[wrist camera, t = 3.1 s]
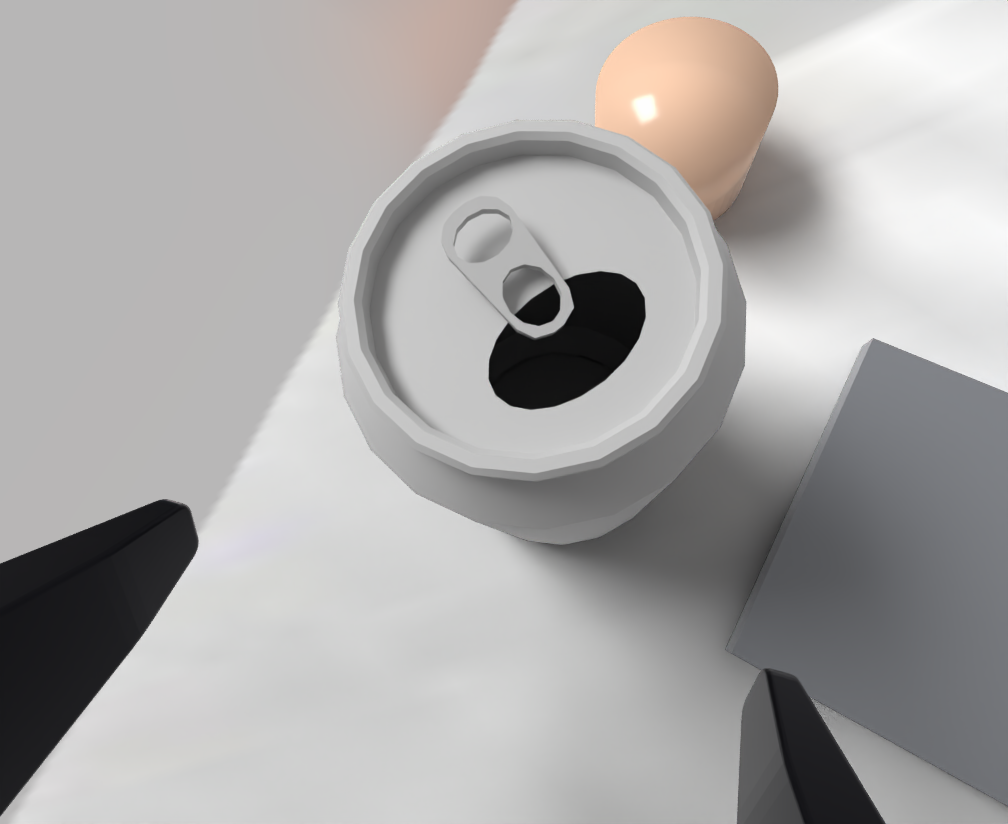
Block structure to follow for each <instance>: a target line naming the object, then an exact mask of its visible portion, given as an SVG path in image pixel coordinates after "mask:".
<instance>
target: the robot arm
mask: <svg viewBox="0 0 1008 824" xmlns="http://www.w3.org/2000/svg"><path fill="white" fill-rule="evenodd" d="M198 542H199V540H198V536H197V532H196V528H195V524H194V521H193V517H192V513H191V510H190V508H189V507H188V506H187V505H185V504H183V503H179V502H176V501H172V500H168V499H163V500H158V501H156V502H153V503H151V504H148V505H145V506H143V507H140V508H138V509H136V510H133V511H130V512H128V513H126V514H123V515H120V516H118V517H115V518H113V519H111V520H108V521H106V522H103V523H101V524H98V525H96V526H93V527H91V528H88V529H86V530H83V531H81V532H78V533H76V534H73V535H71V536H68V537H66V538H63V539H61V540H58V541H56V542H53V543H51V544H48V545H46V546H43V547H41V548H38V549H36V550H33V551H31V552H28V553H26V554H23V555H21V556H18V557H16V558H13V559H11V560H8V561H6V562H3V563H1V564H0V816H1V815H2V814H3V812H4V811H5V810H6V809H7V807H8V806H9V805H10V804H11V802H12V801H13V800H14V799H15V797H16V796H17V795H18V793H19V792H20V791H21V790H22V788H23V787H24V786H25V785H26V783H27V782H28V781H29V779H30V778H31V777H32V776H33V774H34V773H35V772H36V771H37V769H38V768H39V767H40V766H41V764H42V763H43V762H44V760H45V759H46V758H47V757H48V755H49V754H50V753H51V752H52V750H53V749H54V748H55V746H56V745H57V744H58V743H59V741H60V740H61V739H62V738H63V736H64V735H65V734H66V733H67V731H68V730H69V729H70V727H71V726H72V725H73V724H74V722H75V721H76V720H77V719H78V717H79V716H80V715H81V713H82V712H83V711H84V710H85V708H86V707H87V706H88V705H89V703H90V702H91V701H92V700H93V698H94V697H95V696H96V694H97V693H98V692H99V691H100V689H101V688H102V687H103V686H104V684H105V683H106V682H107V680H108V679H109V678H110V677H111V675H112V674H113V673H114V672H115V670H116V669H117V668H118V667H119V665H120V664H121V663H122V661H123V660H124V659H125V658H126V656H127V655H128V654H129V653H130V651H131V650H132V649H133V647H134V646H135V645H136V643H137V642H138V641H139V639H140V638H141V637H142V635H143V634H144V632H145V631H146V629H147V628H148V627H149V625H150V624H151V622H152V621H153V619H154V618H155V616H156V614H157V613H158V611H159V610H160V608H161V607H162V605H163V604H164V602H165V601H166V599H167V597H168V596H169V594H170V593H171V591H172V590H173V588H174V587H175V585H176V584H177V582H178V580H179V579H180V577H181V576H182V574H183V573H184V571H185V570H186V568H187V567H188V565H189V563H190V562H191V560H192V559H193V557H194V556H195V554H196V551H197V548H198ZM737 824H886V823H885V822H884V820H883V818H882V817H881V815H880V813H879V812H878V810H877V808H876V807H875V805H874V803H873V802H872V800H871V798H870V797H869V795H868V794H867V792H866V790H865V789H864V787H863V785H862V784H861V782H860V780H859V779H858V777H857V775H856V774H855V772H854V770H853V769H852V767H851V765H850V764H849V762H848V760H847V759H846V757H845V755H844V754H843V752H842V750H841V749H840V747H839V745H838V744H837V742H836V740H835V739H834V737H833V735H832V734H831V732H830V730H829V729H828V727H827V725H826V724H825V722H824V720H823V719H822V717H821V715H820V714H819V712H818V710H817V709H816V707H815V706H814V704H813V702H812V701H811V699H810V697H809V696H808V694H807V692H806V691H805V689H804V687H803V686H802V684H801V682H800V681H799V680H798V679H797V678H796V677H795V676H794V675H792V674H789V673H786V672H782V671H779V670H775V669H771V668H764V669H763V670H762V671H761V672H760V673H759V675H758V677H757V679H756V681H755V683H754V685H753V687H752V688H751V690H750V692H749V694H748V696H747V698H746V700H745V703H744V706H743V711H742V720H741V743H740V766H739V789H738V812H737Z"/></svg>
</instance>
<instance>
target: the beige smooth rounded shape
mask: <svg viewBox="0 0 1008 824" xmlns="http://www.w3.org/2000/svg"><path fill="white" fill-rule="evenodd" d="M777 98H778V80H777V74H776V71H775V67H774V65H773V63H772V61H771V59H770V57H769V55H768V54H767V52H766V51H765V49H764V48H763V47H762V46H761V45H760V44H759V43H758V42H757V41H756V40H755V39H754V38H753V37H751V36H750V35H749V34H747V33H746V32H744V31H743V30H741V29H739V28H737V27H735V26H733V25H731V24H728V23H725V22H722V21H719V20H714V19H710V18H702V17H680V18H672V19H668V20H663V21H660V22H656V23H653V24H651V25H648V26H646V27H644V28H642V29H640V30H638V31H636V32H635V33H633V34H631V35H630V36H629V37H627V38H626V39H625V40H623V41H622V42H621V43H620V44H619V45H618V46H617V47H616V48H615V49H614V50H613V52H612V53H611V54H610V55H609V56H608V58H607V60H606V61H605V63H604V65H603V67H602V69H601V71H600V74H599V77H598V81H597V87H596V104H595V127H598V128H602V129H605V130H608V131H612V132H615V133H619V134H622V135H625V136H629V137H630V138H632V139H633V140H635V141H636V142H638V143H639V144H641V145H642V146H644V147H645V148H647V149H648V150H650V151H651V152H653V153H654V154H656V155H657V156H659V157H660V158H662V159H663V160H665V161H666V162H668V163H669V164H671V165H672V166H674V167H675V168H676V169H677V170H678V171H679V173H680V174H681V175H682V177H683V178H684V179H685V180H686V182H687V183H688V184H689V186H690V187H691V188H692V189H693V191H694V192H695V193H696V194H697V196H698V197H699V198H700V200H701V201H702V202H703V203H704V205H705V206H706V207H707V209H708V210H709V211H710V213H711V216H712V219H713V221H714V220H716V219H717V218H718V217H720V216H721V215H722V214H724V213H725V212H726V211H727V210H728V209H729V207H730V206H731V205H732V204H733V202H734V201H735V200H736V198H737V196H738V194H739V193H740V191H741V188H742V186H743V184H744V181H745V179H746V176H747V174H748V172H749V169H750V167H751V165H752V162H753V160H754V157H755V155H756V153H757V150H758V148H759V146H760V143H761V141H762V139H763V136H764V134H765V131H766V129H767V127H768V124H769V122H770V120H771V117H772V115H773V112H774V109H775V107H776V103H777Z"/></svg>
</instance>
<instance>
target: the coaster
mask: <svg viewBox="0 0 1008 824" xmlns="http://www.w3.org/2000/svg"><path fill="white" fill-rule="evenodd" d="M725 650H727V651H728V652H730V653H731V654H733V655H735V656H737V657H739V658H741V659H742V660H744V661H746V662H748V663H750V664H751V665H753V666H755V667H757V668H759V669H760V670H763V669H764V668H771V669H775V670H779V671H782V672H786V673H789V674H792V675H794V676H795V677H796V678H797V679H798V680H799V681H800V682H801V684H802V686H803V687H804V689H805V691H806V692H807V694H808V696H809V697H811V698H813V699H815V700H816V701H818V702H820V703H822V704H824V705H826V706H827V707H829V708H831V709H833V710H835V711H836V712H838V713H840V714H842V715H844V716H845V717H847V718H849V719H851V720H853V721H854V722H856V723H858V724H860V725H862V726H864V727H865V728H867V729H869V730H871V731H873V732H874V733H876V734H878V735H880V736H882V737H883V738H885V739H887V740H889V741H891V742H892V743H894V744H896V745H898V746H900V747H902V748H903V749H905V750H907V751H909V752H911V753H912V754H914V755H916V756H918V757H920V758H921V759H923V760H925V761H927V762H929V763H930V764H932V765H934V766H936V767H938V768H939V769H941V770H943V771H945V772H947V773H949V774H950V775H952V776H954V777H956V778H958V779H959V780H961V781H963V782H965V783H967V784H968V785H970V786H972V787H974V788H976V789H977V790H979V791H981V792H983V793H985V794H987V795H988V796H990V797H992V798H994V799H996V800H997V801H999V802H1001V803H1003V804H1005V805H1006V806H1008V393H1007V392H1004V391H1002V390H999V389H997V388H994V387H992V386H990V385H987V384H985V383H982V382H980V381H977V380H975V379H972V378H970V377H967V376H965V375H962V374H960V373H958V372H955V371H953V370H950V369H948V368H945V367H943V366H940V365H938V364H935V363H933V362H930V361H928V360H926V359H923V358H921V357H918V356H916V355H913V354H911V353H908V352H906V351H903V350H901V349H898V348H896V347H894V346H891V345H889V344H886V343H884V342H881V341H879V340H876V339H874V338H873V339H871V340H870V341H869V342H868V343H866V344H865V345H864V346H862V348H861V350H860V352H859V355H858V357H857V359H856V361H855V363H854V366H853V368H852V370H851V372H850V375H849V377H848V379H847V381H846V383H845V386H844V388H843V390H842V392H841V394H840V397H839V399H838V401H837V403H836V406H835V408H834V410H833V412H832V414H831V417H830V419H829V421H828V423H827V425H826V428H825V430H824V432H823V434H822V437H821V439H820V441H819V443H818V445H817V448H816V450H815V452H814V454H813V456H812V459H811V461H810V463H809V465H808V468H807V470H806V472H805V474H804V476H803V479H802V481H801V483H800V485H799V487H798V490H797V492H796V494H795V496H794V499H793V501H792V503H791V505H790V507H789V510H788V512H787V514H786V516H785V518H784V521H783V523H782V525H781V527H780V529H779V532H778V534H777V536H776V538H775V541H774V543H773V545H772V547H771V549H770V552H769V554H768V556H767V558H766V560H765V563H764V565H763V567H762V569H761V572H760V574H759V576H758V578H757V580H756V583H755V585H754V587H753V589H752V591H751V594H750V596H749V598H748V600H747V603H746V605H745V607H744V609H743V611H742V614H741V616H740V618H739V620H738V622H737V625H736V627H735V629H734V631H733V634H732V636H731V638H730V640H729V642H728V645H727V647H726V649H725Z"/></svg>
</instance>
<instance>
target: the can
mask: <svg viewBox="0 0 1008 824" xmlns="http://www.w3.org/2000/svg"><path fill="white" fill-rule="evenodd" d="M338 308H339V316H340V320H339V325H338V331H337V336H336V341H337V348H338V356H339V363H340V371H341V379H342V386H343V394H344V397H345V399H346V401H347V403H348V405H349V407H350V409H351V411H352V413H353V415H354V417H355V419H356V421H357V423H358V425H359V427H360V429H361V431H362V433H363V435H364V437H365V439H366V441H367V443H368V445H369V447H370V449H371V451H372V452H373V453H375V454H376V455H377V456H378V457H379V458H380V459H381V460H382V461H383V462H384V463H385V464H386V465H387V466H388V467H389V468H390V469H391V470H392V471H393V472H394V473H395V474H396V475H397V476H398V477H399V478H400V479H401V480H402V481H403V482H404V483H405V484H406V485H407V486H409V487H410V488H411V489H412V490H413V491H414V492H415V493H416V494H418V495H420V496H422V497H424V498H426V499H428V500H430V501H433V502H435V503H437V504H439V505H441V506H443V507H445V508H448V509H450V510H452V511H454V512H456V513H458V514H460V515H462V516H465V517H467V518H469V519H471V520H473V521H475V522H478V523H481V524H483V525H486V526H489V527H491V528H494V529H497V530H499V531H502V532H505V533H507V534H510V535H513V536H516V537H518V538H521V539H524V540H526V541H534V542H543V543H551V544H560V545H565V544H570V543H575V542H580V541H584V540H589V539H594V538H599V537H601V536H603V535H605V534H606V533H608V532H610V531H611V530H613V529H615V528H617V527H618V526H620V525H622V524H623V523H625V522H627V521H629V520H630V519H632V518H633V517H634V516H635V515H636V514H637V513H638V512H640V511H641V510H642V509H643V508H644V507H645V506H646V505H647V504H648V503H650V502H651V501H652V500H653V499H654V498H655V497H656V496H657V495H658V494H659V493H661V492H662V491H663V490H664V489H665V488H666V487H667V486H668V485H669V484H671V483H672V482H673V481H674V480H675V479H676V478H677V477H678V475H679V474H680V473H681V472H682V471H683V470H684V469H685V467H686V466H687V465H688V464H689V463H690V462H691V460H692V459H693V458H694V457H695V456H696V455H697V454H698V452H699V451H700V450H701V449H702V448H703V447H704V445H705V444H706V443H707V442H708V441H709V440H710V439H711V437H712V436H713V435H714V434H715V433H716V432H717V431H718V429H719V428H720V427H721V424H722V422H723V419H724V417H725V414H726V412H727V409H728V406H729V404H730V401H731V399H732V396H733V394H734V391H735V389H736V386H737V384H738V381H739V379H740V376H741V373H742V371H743V368H744V366H745V332H746V300H745V297H744V294H743V291H742V288H741V285H740V282H739V279H738V276H737V273H736V270H735V267H734V264H733V261H732V258H731V255H730V252H729V249H728V246H727V243H726V242H725V241H724V239H723V238H722V237H721V236H720V234H719V233H718V232H717V230H716V228H715V225H714V222H713V219H712V216H711V213H710V211H709V210H708V209H707V207H706V206H705V205H704V203H703V202H702V201H701V200H700V198H699V197H698V196H697V194H696V193H695V192H694V191H693V189H692V188H691V187H690V186H689V184H688V183H687V182H686V180H685V179H684V178H683V177H682V175H681V174H680V173H679V171H678V170H677V169H676V168H675V167H674V166H672V165H671V164H669V163H668V162H666V161H665V160H663V159H662V158H660V157H659V156H657V155H656V154H654V153H653V152H651V151H650V150H648V149H647V148H645V147H644V146H642V145H641V144H639V143H638V142H636V141H635V140H633V139H632V138H630V137H629V136H625V135H622V134H619V133H615V132H612V131H608V130H605V129H602V128H598V127H595V126H592V125H588V124H585V123H581V122H578V121H575V120H514V121H511V122H507V123H503V124H499V125H495V126H492V127H488V128H484V129H480V130H476V131H473V132H469V133H465V134H462V135H460V136H458V137H457V138H455V139H453V140H451V141H450V142H448V143H446V144H444V145H443V146H441V147H439V148H437V149H436V150H434V151H432V152H430V153H429V154H427V155H425V156H423V157H422V158H420V159H418V160H416V161H415V162H413V163H412V164H411V165H410V166H409V167H408V168H407V169H406V170H405V171H404V172H403V173H402V174H401V175H400V176H399V177H398V178H397V179H396V180H395V181H394V182H393V184H392V185H390V186H389V187H388V189H387V190H386V191H384V193H382V194H381V195H380V197H379V198H378V199H377V200H376V201H375V202H374V203H373V205H372V207H371V209H370V211H369V212H368V214H367V216H366V218H365V220H364V222H363V224H362V225H361V227H360V229H359V231H358V233H357V235H356V237H355V239H354V240H353V242H352V244H351V246H350V248H349V250H348V254H347V259H346V265H345V269H344V274H343V279H342V285H341V290H340V295H339V300H338Z"/></svg>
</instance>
